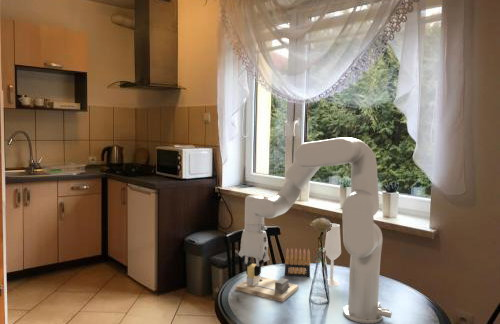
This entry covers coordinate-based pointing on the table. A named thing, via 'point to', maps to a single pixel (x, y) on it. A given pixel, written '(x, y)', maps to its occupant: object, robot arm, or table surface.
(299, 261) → the ammunition clip
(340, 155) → the robot arm
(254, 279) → the sliding leg
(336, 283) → the champagne flute
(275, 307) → the table surface
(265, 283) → the board
